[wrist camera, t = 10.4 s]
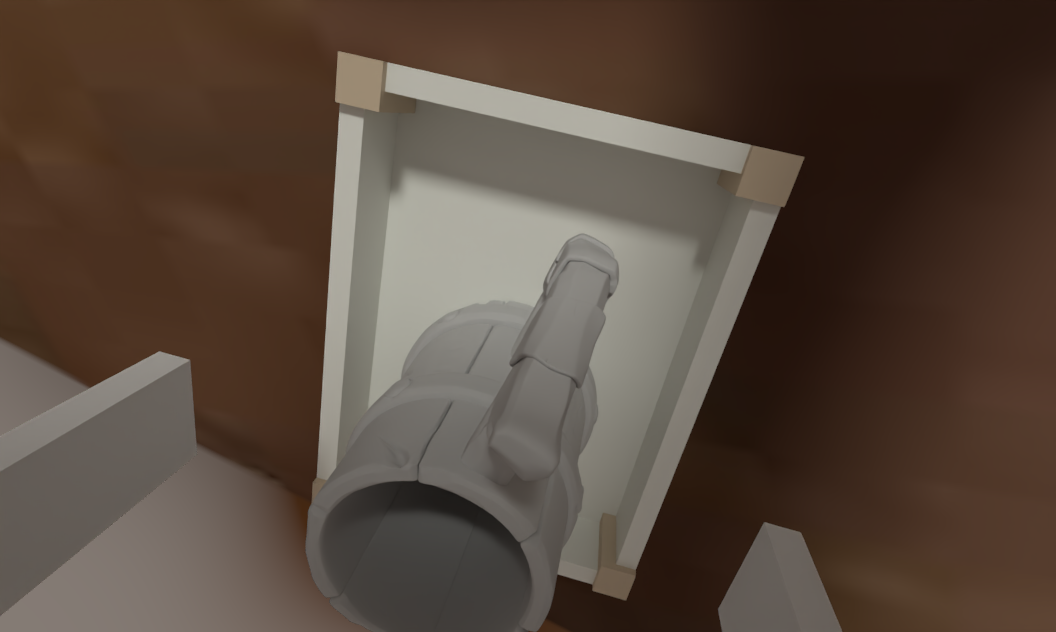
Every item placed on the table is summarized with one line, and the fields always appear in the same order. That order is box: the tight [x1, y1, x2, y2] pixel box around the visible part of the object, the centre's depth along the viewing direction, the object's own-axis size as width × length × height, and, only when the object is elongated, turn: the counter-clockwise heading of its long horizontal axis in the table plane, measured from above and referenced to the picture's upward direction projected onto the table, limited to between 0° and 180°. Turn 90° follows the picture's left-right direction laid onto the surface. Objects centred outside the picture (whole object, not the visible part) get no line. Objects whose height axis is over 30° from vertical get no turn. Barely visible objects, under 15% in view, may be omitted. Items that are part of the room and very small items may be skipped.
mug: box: [305, 233, 619, 632], centre depth 15 cm, size 8×12×12 cm, turn 152°
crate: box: [312, 51, 805, 600], centre depth 20 cm, size 18×14×4 cm
